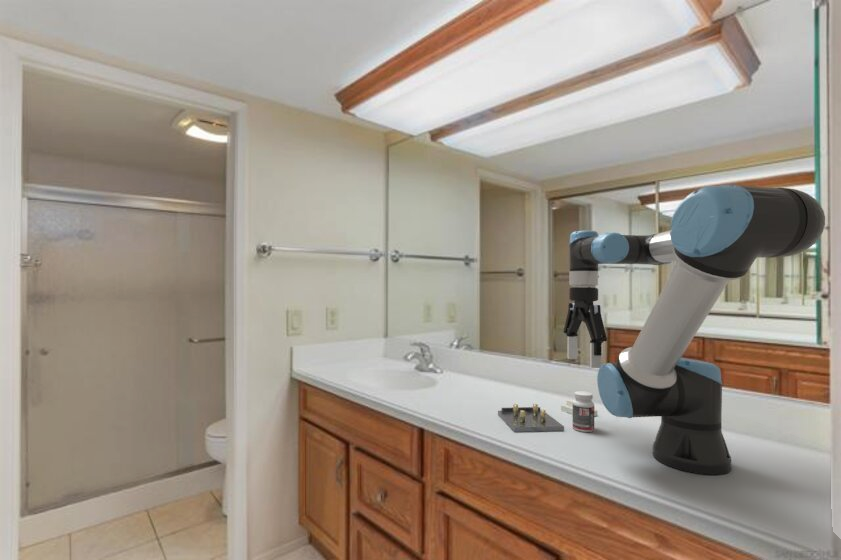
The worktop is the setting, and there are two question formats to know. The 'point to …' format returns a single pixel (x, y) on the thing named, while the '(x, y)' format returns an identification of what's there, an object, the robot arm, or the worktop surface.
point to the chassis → (529, 419)
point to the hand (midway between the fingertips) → (583, 363)
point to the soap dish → (571, 407)
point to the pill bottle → (583, 412)
